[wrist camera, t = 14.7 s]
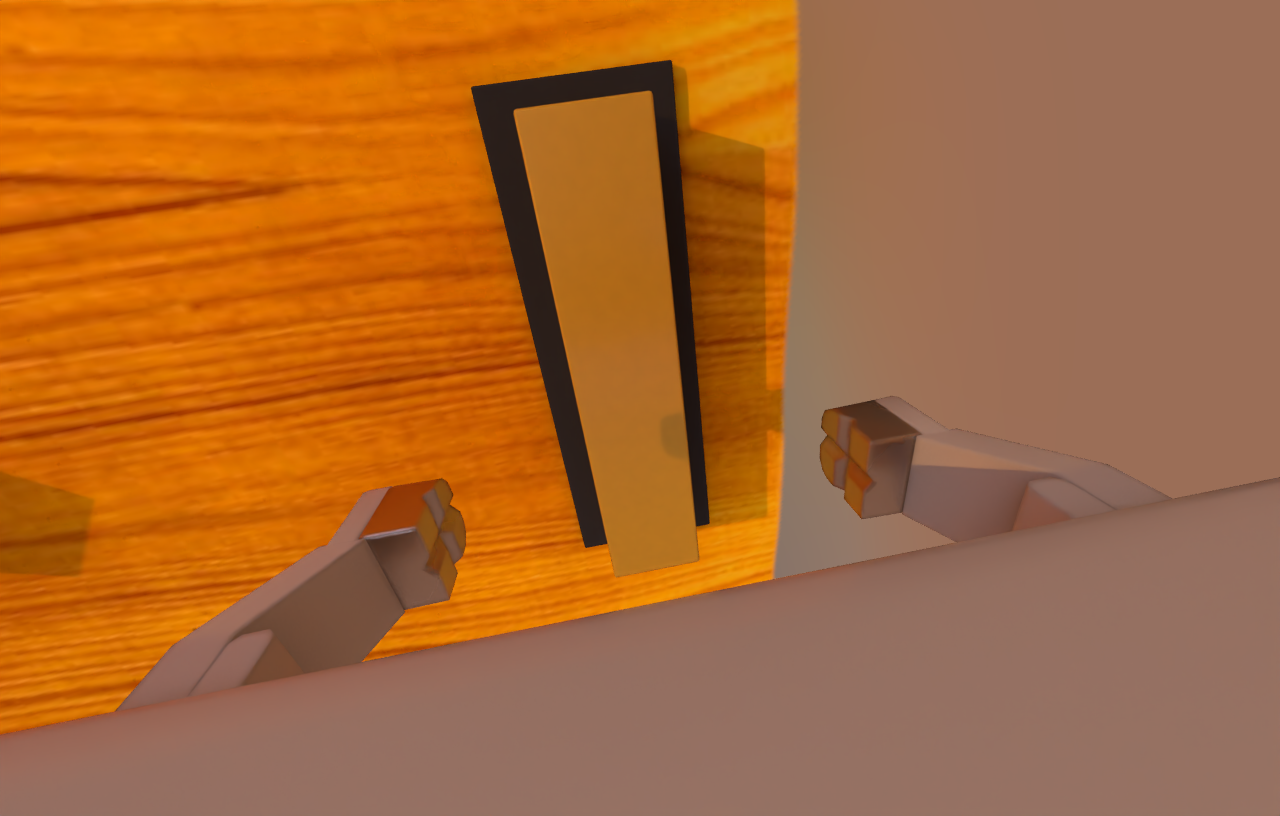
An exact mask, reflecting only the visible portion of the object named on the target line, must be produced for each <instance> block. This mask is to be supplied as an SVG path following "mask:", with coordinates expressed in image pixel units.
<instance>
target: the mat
mask: <svg viewBox="0 0 1280 816" xmlns="http://www.w3.org/2000/svg"><path fill="white" fill-rule="evenodd" d="M471 91H472V95H473V99H474V103H475V107H476V111H477V115H478V119H479V123H480V127H481V131H482V135H483V139H484V143H485V147H486V151H487V155H488V159H489V163H490V167H491V171H492V175H493V179H494V183H495V187H496V191H497V195H498V199H499V203H500V207H501V211H502V215H503V219H504V223H505V227H506V231H507V235H508V239H509V243H510V247H511V251H512V255H513V259H514V263H515V267H516V271H517V275H518V279H519V283H520V287H521V292H522V296H523V300H524V304H525V308H526V312H527V316H528V320H529V324H530V328H531V332H532V336H533V340H534V344H535V348H536V352H537V356H538V360H539V364H540V368H541V372H542V376H543V380H544V384H545V388H546V392H547V396H548V400H549V404H550V408H551V412H552V416H553V420H554V424H555V428H556V432H557V436H558V440H559V444H560V448H561V452H562V456H563V460H564V464H565V468H566V472H567V476H568V480H569V484H570V488H571V492H572V496H573V501H574V505H575V509H576V513H577V517H578V521H579V525H580V529H581V533H582V537H583V541H584V545H585V548H588V547H593V546H598V545H603V544H608V543H607V539H606V534H605V529H604V525H603V520H602V516H601V511H600V507H599V502H598V497H597V493H596V488H595V484H594V479H593V475H592V470H591V465H590V461H589V456H588V452H587V447H586V443H585V438H584V434H583V429H582V424H581V420H580V415H579V411H578V406H577V402H576V397H575V392H574V388H573V383H572V379H571V374H570V370H569V365H568V360H567V356H566V351H565V347H564V342H563V338H562V333H561V328H560V324H559V319H558V315H557V310H556V306H555V301H554V296H553V292H552V287H551V283H550V278H549V274H548V269H547V264H546V260H545V255H544V251H543V246H542V242H541V237H540V232H539V228H538V223H537V219H536V214H535V210H534V205H533V200H532V196H531V191H530V187H529V182H528V178H527V173H526V169H525V164H524V159H523V155H522V150H521V146H520V141H519V137H518V132H517V127H516V123H515V118H514V114H513V113H514V110H515V109H520V108H527V107H534V106H541V105H549V104H556V103H563V102H570V101H578V100H585V99H592V98H599V97H606V96H614V95H621V94H628V93H635V92H643V91H651V92H652V94H653V103H654V113H655V123H656V133H657V143H658V153H659V163H660V173H661V183H662V192H663V202H664V212H665V222H666V232H667V242H668V252H669V262H670V272H671V282H672V292H673V302H674V312H675V322H676V332H677V342H678V352H679V362H680V372H681V382H682V392H683V402H684V412H685V421H686V431H687V441H688V451H689V461H690V471H691V481H692V491H693V501H694V511H695V521H696V526H701V525H707V524H709V523H710V522H709V510H708V498H707V485H706V473H705V461H704V449H703V437H702V424H701V412H700V400H699V388H698V375H697V363H696V351H695V339H694V327H693V314H692V302H691V290H690V278H689V266H688V253H687V241H686V229H685V217H684V205H683V192H682V180H681V168H680V156H679V144H678V131H677V119H676V107H675V95H674V83H673V70H672V61H671V60H667V61H659V62H652V63H645V64H637V65H630V66H622V67H615V68H607V69H600V70H592V71H585V72H578V73H570V74H563V75H555V76H548V77H540V78H533V79H525V80H518V81H511V82H503V83H496V84H488V85H481V86H473V87H471Z"/></svg>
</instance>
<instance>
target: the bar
mask: <svg viewBox="0 0 1280 816" xmlns="http://www.w3.org/2000/svg"><path fill="white" fill-rule="evenodd" d="M513 114H514V118H515V123H516V127H517V132H518V137H519V141H520V146H521V150H522V155H523V159H524V164H525V169H526V173H527V178H528V182H529V187H530V191H531V196H532V200H533V205H534V210H535V214H536V219H537V223H538V228H539V232H540V237H541V242H542V246H543V251H544V255H545V260H546V264H547V269H548V274H549V278H550V283H551V287H552V292H553V296H554V301H555V306H556V310H557V315H558V319H559V324H560V328H561V333H562V338H563V342H564V347H565V351H566V356H567V360H568V365H569V370H570V374H571V379H572V383H573V388H574V392H575V397H576V402H577V406H578V411H579V415H580V420H581V424H582V429H583V434H584V438H585V443H586V447H587V452H588V456H589V461H590V465H591V470H592V475H593V479H594V484H595V488H596V493H597V497H598V502H599V507H600V511H601V516H602V520H603V525H604V529H605V534H606V539H607V543H608V548H609V552H610V557H611V561H612V566H613V571H614V575H615V577H621V576H626V575H631V574H636V573H642V572H647V571H652V570H657V569H662V568H667V567H672V566H677V565H682V564H687V563H692V562H697V561H699V551H698V541H697V531H696V521H695V511H694V501H693V491H692V481H691V471H690V461H689V451H688V441H687V431H686V421H685V412H684V402H683V392H682V382H681V372H680V362H679V352H678V342H677V332H676V322H675V312H674V302H673V292H672V282H671V272H670V262H669V252H668V242H667V232H666V222H665V212H664V202H663V192H662V183H661V173H660V163H659V153H658V143H657V133H656V123H655V113H654V103H653V94H652V92H651V91H643V92H635V93H628V94H621V95H614V96H606V97H599V98H592V99H585V100H578V101H570V102H563V103H556V104H549V105H541V106H534V107H527V108H520V109H515V110H514V113H513Z"/></svg>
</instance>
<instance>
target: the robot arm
mask: <svg viewBox="0 0 1280 816" xmlns="http://www.w3.org/2000/svg"><path fill="white" fill-rule="evenodd" d="M821 428H822V429H823V430H824V431H825V433H826V434H827V436H826V438H825V439H824V441H823V442H822V443H821V445H820V461H821V465H822V470H823V472H824V474H825V476H826V477H827V479H828V480H829V482H830V483H831V484H832V485H833V486H835V487H838V488H840V489H842V490H845V493H844V499H845V500H846V502H847V503H848V504H849V505H850V506H851V507H852V508H853V510H854V511H855V512H856V513H857V514H858V515H859V516H860V518H861V519H866V518H872V517H878V516H884V515H890V514H896V513H902V512H903V513H902V514H903V515H905V516H907V517H909V518H910V519H912V520H914V521H916V522H918V523H920V524H922V525H924V526H926V527H928V528H930V529H932V530H934V531H936V532H938V533H940V534H942V535H944V536H945V537H948V538H950V539H951V540H953V541H955V542H957V543H952V544H947V545H942V546H937V547H932V548H927V549H922V550H917V551H912V552H907V553H902V554H897V555H892V556H887V557H882V558H877V559H872V560H867V561H862V562H857V563H852V564H847V565H843V566H837V567H832V568H827V569H822V570H817V571H812V572H807V573H802V574H797V575H793V576H788V577H783V578H777V579H772V580H767V581H762V582H757V583H752V584H747V585H742V586H738V587H733V588H728V589H723V590H718V591H713V592H708V593H703V594H698V595H693V596H688V597H683V598H678V599H674V600H669V601H664V602H659V603H654V604H649V605H644V606H639V607H634V608H629V609H624V610H619V611H614V612H609V613H604V614H599V615H594V616H589V617H584V618H579V619H574V620H569V621H564V622H559V623H554V624H549V625H544V626H539V627H534V628H529V629H524V630H519V631H514V632H509V633H504V634H499V635H494V636H489V637H484V638H479V639H474V640H469V641H464V642H459V643H454V644H449V645H444V646H439V647H434V648H430V649H425V650H420V651H415V652H410V653H405V654H400V655H395V656H390V657H385V658H380V659H375V660H370V661H365V662H362V661H363V659H364V658H365V657H366V656H367V655H368V654H369V653H370V651H371V650H372V649H373V648H374V647H375V646H376V645H377V643H378V642H379V641H380V640H381V639H382V638H383V637H384V635H385V634H386V633H387V632H388V631H389V630H390V629H391V627H392V626H393V625H394V624H395V623H396V622H397V621H398V620H399V618H400V617H401V616H402V615H403V614H404V613H405V611H404V610H406V609H411V608H415V607H420V606H424V605H429V604H433V603H437V602H442V601H446V600H450V596H451V593H452V590H453V587H454V583H455V580H456V577H457V574H458V573H457V570H456V568H455V565H454V564H455V563H456V562H457V561H458V560H459V559H460V558H461V557H462V556H463V553H464V550H465V546H466V530H465V525H464V521H463V518H462V515H461V513H460V511H458V510H457V509H455V508H454V507H452V506H451V505H450V502H451V499H452V497H453V493H452V491H451V489H450V486H449V484H448V482H447V481H445V480H444V479H442V478H441V479H435V480H429V481H423V482H416V483H410V484H404V485H398V486H394V487H392V486H390V487H385V488H380V489H375V490H370V491H367V492H365V493H363V494H362V496H361V497H360V499H359V500H358V502H357V503H356V505H355V506H354V507H353V509H352V510H351V512H350V513H349V515H348V516H347V518H346V519H345V520H344V522H343V523H342V525H341V526H340V528H339V529H338V531H337V532H336V534H335V535H334V536H333V538H332V539H331V541H330V542H329V544H328V545H327V546H321V547H318V548H317V549H315V550H314V551H312V552H311V553H309V554H308V555H306V556H305V557H303V558H302V559H300V560H299V561H297V562H296V563H294V564H293V565H291V566H290V567H288V568H287V569H285V570H284V571H282V572H281V573H279V574H278V575H276V576H275V577H274V578H272V579H271V580H269V581H268V582H266V583H265V584H263V585H262V586H260V587H259V588H257V589H256V590H254V591H253V592H251V593H250V594H248V595H247V596H245V597H244V598H242V599H241V600H239V601H238V602H236V603H235V604H233V605H232V606H230V607H229V608H228V609H226V610H225V611H223V612H222V613H220V614H219V615H217V616H216V617H214V618H213V619H211V620H210V621H208V622H207V623H205V624H204V625H202V626H201V627H199V628H198V629H196V630H195V631H193V632H192V633H190V634H189V635H187V636H186V637H184V638H183V639H182V640H180V641H179V642H177V643H176V644H174V645H173V646H172V647H171V648H170V649H169V650H168V651H167V652H166V653H165V655H164V656H163V657H162V658H161V659H160V660H159V661H158V663H157V664H156V665H155V666H154V667H153V668H152V669H151V671H150V672H149V673H148V674H147V675H146V676H145V678H144V679H143V680H142V681H141V682H140V683H139V684H138V686H137V687H136V688H135V689H134V690H133V691H132V692H131V694H130V695H129V696H128V697H127V698H126V699H125V700H124V702H123V703H122V704H121V705H120V706H119V707H118V708H117V710H116V711H115V712H111V713H106V714H101V715H96V716H91V717H86V718H81V719H76V720H71V721H66V722H61V723H56V724H51V725H46V726H41V727H36V728H31V729H26V730H21V731H16V732H11V733H6V734H1V735H0V816H1280V477H1279V478H1274V479H1269V480H1264V481H1260V482H1254V483H1249V484H1244V485H1239V486H1234V487H1230V488H1225V489H1220V490H1215V491H1210V492H1205V493H1200V494H1195V495H1190V496H1185V497H1180V498H1175V499H1172V498H1170V497H1168V496H1166V495H1164V494H1163V493H1161V492H1159V491H1157V490H1155V489H1153V488H1151V487H1150V486H1148V485H1146V484H1144V483H1142V482H1140V481H1138V480H1136V479H1134V478H1133V477H1131V476H1129V475H1127V474H1125V473H1123V472H1121V471H1119V470H1117V469H1115V468H1114V467H1112V466H1110V465H1108V464H1104V463H1099V462H1095V461H1091V460H1087V459H1082V458H1078V457H1074V456H1069V455H1065V454H1061V453H1057V452H1053V451H1049V450H1045V449H1040V448H1036V447H1032V446H1028V445H1023V444H1019V443H1015V442H1011V441H1007V440H1002V439H998V438H993V437H989V436H985V435H981V434H977V433H973V432H969V431H964V430H960V429H951V430H948V429H947V428H945V427H944V426H942V425H941V424H939V423H938V422H936V421H935V420H933V419H932V418H930V417H928V416H927V415H925V414H924V413H922V412H921V411H919V410H918V409H916V408H915V407H913V406H912V405H910V404H909V403H907V402H906V401H904V400H902V399H901V398H899V397H895V396H890V397H885V398H881V399H876V400H871V401H867V402H862V403H858V404H853V405H848V406H843V407H838V408H833V409H829V410H825V412H824V414H823V417H822V425H821Z"/></svg>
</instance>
